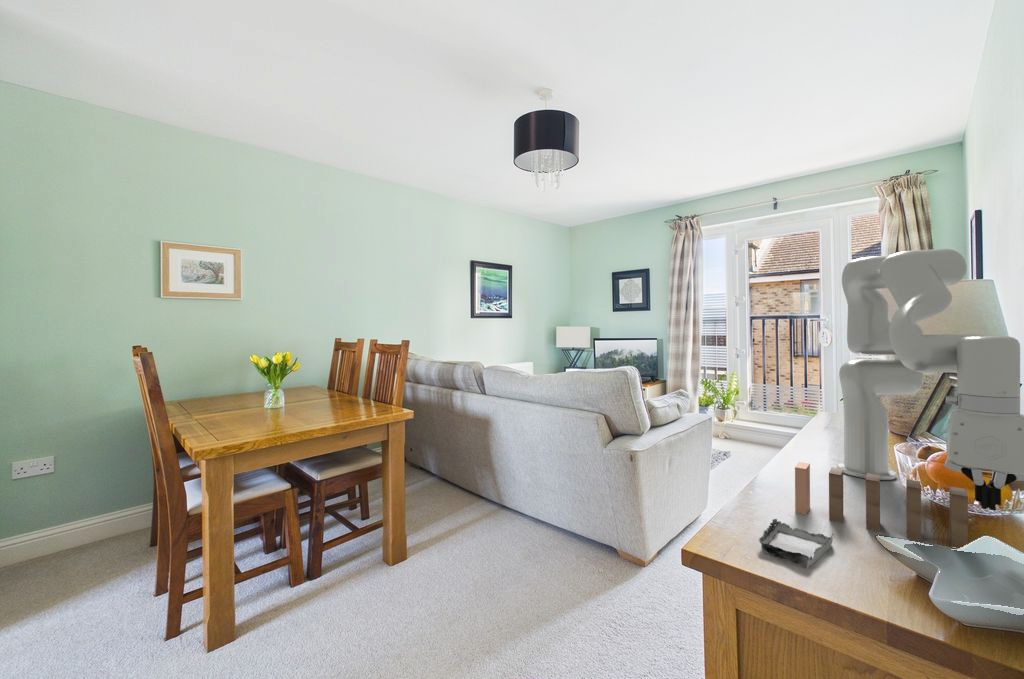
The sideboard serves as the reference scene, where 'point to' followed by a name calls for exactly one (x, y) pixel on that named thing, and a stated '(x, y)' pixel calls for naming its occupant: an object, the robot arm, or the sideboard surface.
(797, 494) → the domino
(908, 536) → the domino
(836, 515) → the domino
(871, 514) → the domino
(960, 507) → the domino
